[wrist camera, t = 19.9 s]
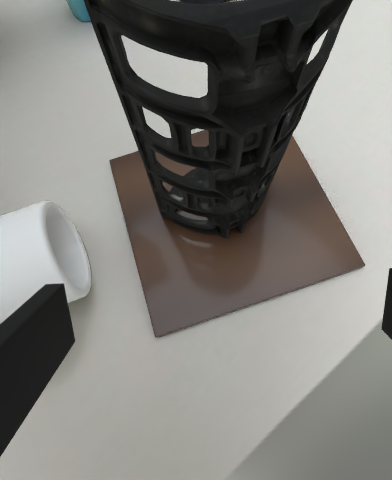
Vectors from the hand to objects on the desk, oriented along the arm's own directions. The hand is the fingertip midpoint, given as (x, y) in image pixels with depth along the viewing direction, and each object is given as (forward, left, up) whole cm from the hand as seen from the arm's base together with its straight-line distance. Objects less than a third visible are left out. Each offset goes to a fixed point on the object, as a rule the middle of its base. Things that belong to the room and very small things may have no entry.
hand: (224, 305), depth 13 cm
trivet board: (-10, +4, -13) cm, 17 cm away
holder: (-10, +4, -13) cm, 17 cm away
